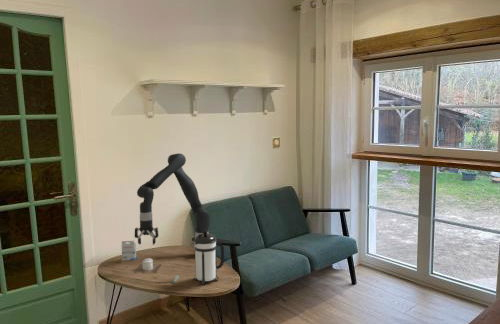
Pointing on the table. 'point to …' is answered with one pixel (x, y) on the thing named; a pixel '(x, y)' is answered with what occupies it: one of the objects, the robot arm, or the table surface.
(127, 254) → the ink box
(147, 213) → the robot arm
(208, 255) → the coffee press
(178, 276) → the sage mat
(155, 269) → the post base
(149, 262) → the cap
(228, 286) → the table surface
